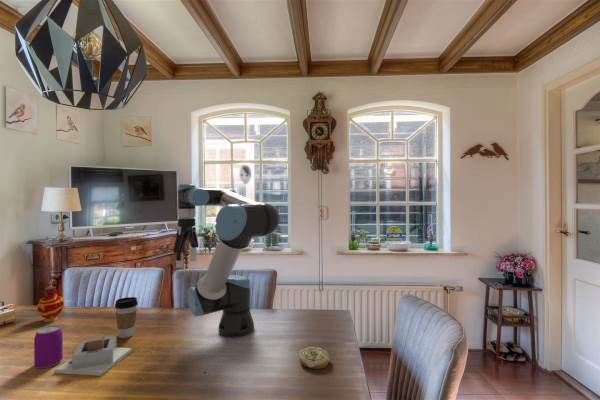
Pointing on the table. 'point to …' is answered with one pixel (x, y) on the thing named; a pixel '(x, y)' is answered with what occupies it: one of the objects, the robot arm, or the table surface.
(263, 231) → the robot arm
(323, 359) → the decorated donut
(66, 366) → the post board
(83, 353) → the square frame
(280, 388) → the table surface
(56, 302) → the potion bottle
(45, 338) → the beverage can
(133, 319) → the coffee cup
